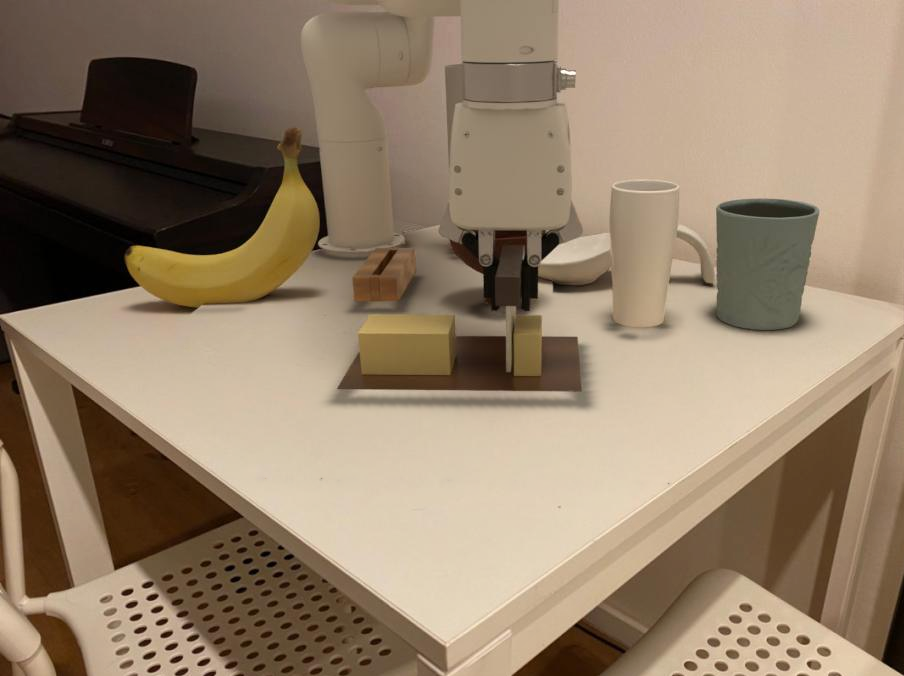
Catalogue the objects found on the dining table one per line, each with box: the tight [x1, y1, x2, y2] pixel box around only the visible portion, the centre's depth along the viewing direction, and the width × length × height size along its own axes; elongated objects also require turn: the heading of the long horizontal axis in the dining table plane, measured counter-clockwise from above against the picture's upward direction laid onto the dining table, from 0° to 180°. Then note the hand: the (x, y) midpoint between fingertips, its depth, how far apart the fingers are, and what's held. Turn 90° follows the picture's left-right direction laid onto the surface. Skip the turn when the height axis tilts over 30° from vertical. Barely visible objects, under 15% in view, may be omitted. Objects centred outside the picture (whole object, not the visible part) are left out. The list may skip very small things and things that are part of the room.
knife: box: [495, 245, 525, 372], centre depth 71 cm, size 11×2×8 cm, turn 177°
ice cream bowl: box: [448, 230, 547, 305], centre depth 88 cm, size 11×11×15 cm
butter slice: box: [513, 314, 543, 376], centre depth 72 cm, size 5×2×4 cm, turn 176°
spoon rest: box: [538, 223, 715, 286], centre depth 100 cm, size 24×12×7 cm, turn 85°
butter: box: [357, 313, 457, 375], centre depth 73 cm, size 5×8×4 cm, turn 87°
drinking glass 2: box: [608, 179, 681, 328], centre depth 82 cm, size 7×7×15 cm
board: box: [336, 335, 583, 393], centre depth 74 cm, size 13×21×1 cm, turn 87°
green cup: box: [715, 198, 820, 331], centre depth 85 cm, size 10×10×12 cm
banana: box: [124, 126, 321, 309], centre depth 90 cm, size 23×6×20 cm, turn 91°
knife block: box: [351, 247, 417, 302], centre depth 97 cm, size 13×5×4 cm, turn 176°
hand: (511, 304), depth 71 cm, fingers closed on knife, 2 cm apart
